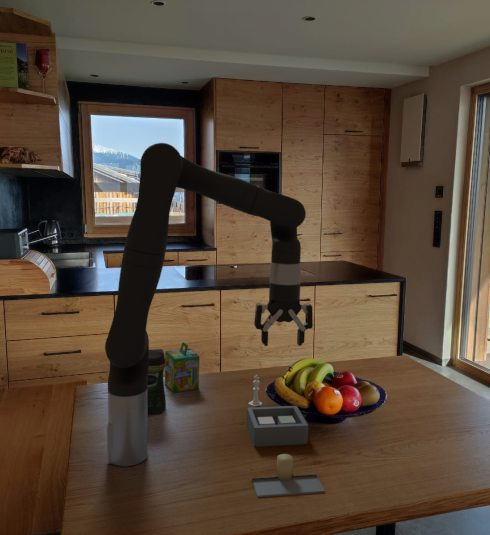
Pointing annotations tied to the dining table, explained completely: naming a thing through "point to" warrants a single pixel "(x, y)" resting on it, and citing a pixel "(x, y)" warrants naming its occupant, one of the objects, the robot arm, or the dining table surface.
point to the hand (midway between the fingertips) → (282, 345)
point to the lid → (286, 481)
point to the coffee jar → (156, 382)
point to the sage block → (286, 420)
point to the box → (277, 427)
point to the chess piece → (255, 393)
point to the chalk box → (182, 369)
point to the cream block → (265, 421)
